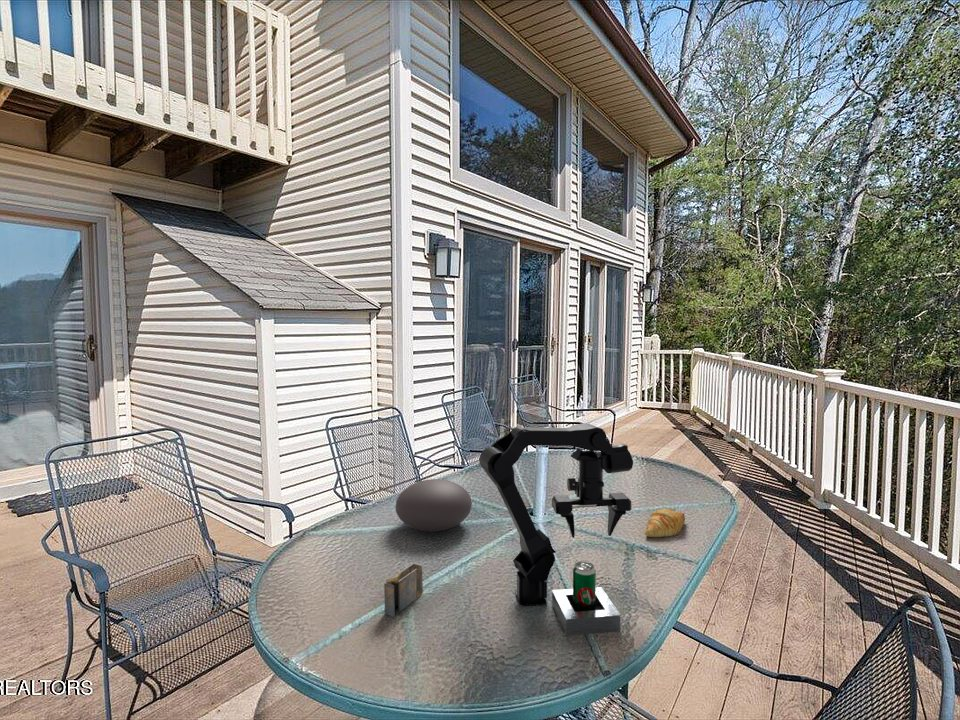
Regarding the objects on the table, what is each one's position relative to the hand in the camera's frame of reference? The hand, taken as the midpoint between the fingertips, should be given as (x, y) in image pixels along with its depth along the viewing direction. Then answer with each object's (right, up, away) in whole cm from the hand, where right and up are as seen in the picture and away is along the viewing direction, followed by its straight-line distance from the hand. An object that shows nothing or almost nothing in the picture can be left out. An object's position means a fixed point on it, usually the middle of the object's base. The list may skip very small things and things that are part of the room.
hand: (591, 536), depth 129 cm
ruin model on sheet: (-46, -15, -6) cm, 48 cm away
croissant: (+31, -11, +36) cm, 49 cm away
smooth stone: (-43, -11, +40) cm, 59 cm away
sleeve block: (-4, -14, -12) cm, 19 cm away
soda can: (-4, -14, -12) cm, 19 cm away
